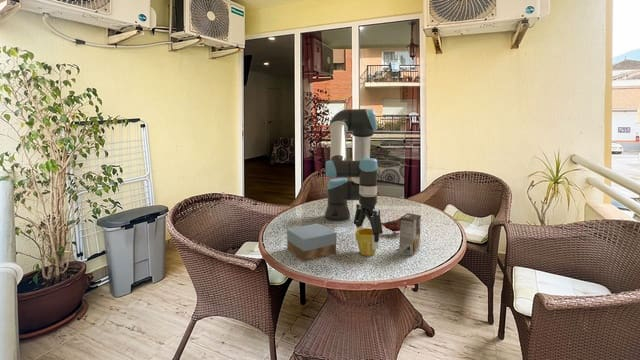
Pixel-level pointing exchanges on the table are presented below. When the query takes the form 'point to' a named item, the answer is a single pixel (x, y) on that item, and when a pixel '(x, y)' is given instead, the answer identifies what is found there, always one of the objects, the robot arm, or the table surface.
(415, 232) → the coffee box
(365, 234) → the plant pot
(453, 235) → the table surface
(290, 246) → the tower base
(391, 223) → the decorative bird figurine
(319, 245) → the tower top
